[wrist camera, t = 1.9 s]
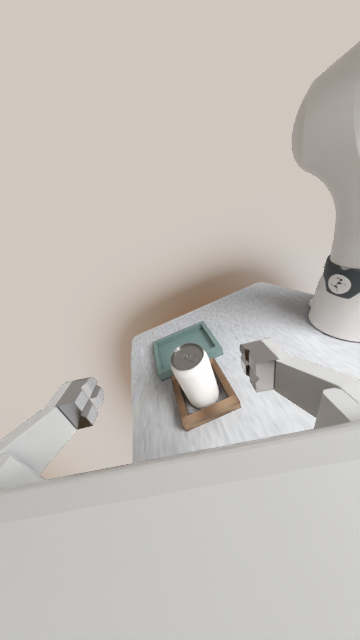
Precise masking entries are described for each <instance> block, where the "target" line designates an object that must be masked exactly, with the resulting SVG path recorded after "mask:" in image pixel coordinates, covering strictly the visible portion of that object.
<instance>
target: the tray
mask: <svg viewBox="0 0 360 640" xmlns="http://www.w3.org/2000/svg"><path fill="white" fill-rule="evenodd" d="M185 343H196V344H198V345H200V346H201V347H202V349H203V350H204V351H205V352H206V353H207V355H208V358H209V359H211V358H216V357H218V356H220V355H223V351H222V347H221V346H220V344H219V343H218V341H217V340H216V339H215V337H214V336H213V334H212V333H211V332H210V330H209V329H208V327H207V326H206V324H205V323H204V322H203V321H201V322H199V323H197V324H194V325H192V326H190V327H187V328H185V329H183V330H180V331H178V332H176V333H173V334H171V335H169V336H166V337H164V338H162V339H159V340H157V341H154V342H153V348H154V354H155V360H156V366H157V372H158V376H159V377H160V379H161V380H162V381H163V380H165V379H167V378H170V377H171V376H172V375H174V373H173V371H172V368H171V361H170V358H171V355H172V353H173V351H174V350H175V349H176V348H177V347H179V346H180V345H182V344H185Z"/></svg>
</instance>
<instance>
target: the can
mask: <svg viewBox="0 0 360 640" xmlns="http://www.w3.org/2000/svg"><path fill="white" fill-rule="evenodd" d="M170 361H171V368H172V371H173V373H174V375H175V377H176V379H177V381H178V382H179V384H180V386H181V388H182V389H183V391H184V393H185V395H186V396H187V398H188V400H189V401H190V403H191V404H192V405H193V406H194V407H196V408H199V409H203V408H206V407H208V406H210V405H212V404H215V403H216V401H217V399H218V396H219V389H218V385H217V382H216V379H215V376H214V373H213V370H212V367H211V364H210V361H209V358H208V355H207V353H206V352H205V351H204V350H203V349H202V347H201V346H200V345H198V344H196V343H185V344H182V345H180V346H179V347H177V348H176V349H175V350H174V351H173V353H172V355H171V358H170Z"/></svg>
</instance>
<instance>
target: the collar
mask: <svg viewBox="0 0 360 640" xmlns="http://www.w3.org/2000/svg"><path fill="white" fill-rule="evenodd" d="M209 361H210V364H211V367H212V370H213V371H214V373H215V375H216V376H217V378H218V380H219V382H220V384H221V386H222V388H223V389H224V391H225V393H226V395H227V397H228V398H226V399H224V400H221V401H219V402H217V403H215V404H212V405H210V406H208V407H206V408H203V409H201V410H199V411H197V412H194V413H192V414H190V415H189V412H188V409H187V405H186V402H185V399H184V395H183V392H182V388H181V386H180V384H179V382H178V381H177V379H176V377H175V375H172V376H171V380H172V384H173V388H174V392H175V396H176V400H177V404H178V408H179V412H180V417H181V421H182V425H183V427H184V428H185V429H186V431H189V430H191V429H194V428H196V427H198V426H200V425H203V424H205V423H207V422H209V421H212V420H214V419H216V418H218V417H220V416H223V415H225V414H227V413H229V412H232V411H234V410H236V409H238V408H241V406H240V401H239V399H238V397H237V396H236V394H235V392H234V391H233V389H232V387H231V386H230V384H229V382H228V381H227V379H226V377H225V375H224V374H223V372H222V370H221V369H220V367H219V365H218V364H217V362H216V360H215V359H214V358H211V359H209Z"/></svg>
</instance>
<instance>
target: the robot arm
mask: <svg viewBox="0 0 360 640" xmlns="http://www.w3.org/2000/svg"><path fill="white" fill-rule="evenodd" d="M292 151H293V155H294V158H295V160H296V162H297V164H298V165H299V166H300V167H301V168H302V169H303V170H304V171H306V172H309V173H311V174H313V175H314V176H316V177H317V178H319V179H320V180H321V181H322V182H323V183H324V184H325V185H326V187H327V188H328V190H329V191H330V193H331V195H332V197H333V200H334V203H335V208H336V224H335V233H334V240H333V246H332V251H331V255H329V256H328V258H327V260H326V263H325V266H324V273H323V276H321V278H320V280H319V282H318V285H317V288H316V292H315V295H314V298H311V299H310V300H309V306H310V311H309V315H308V317H309V320H310V322H311V323H312V325H313V326H315V327H316V328H317V329H319V330H320V331H322V332H324V333H326V334H328V335H331V336H333V337H336V338H340V339H344V340H348V341H355V342H360V42H359V43H357V44H356V45H355V46H354V47H353V48H351V49H350V50H349V51H348V52H347V53H346V54H344V55H343V56H342V57H341V58H339V59H338V60H337V61H336V62H335V63H334V64H333V65H331V66H330V67H329V68H328V69H327V70H326V71H325V72H323V73H322V74H321V75H320V76H319V77H318V78H317V79H316V80H315V81H314V82H313V83H312V85H311V87H310V88H309V90H308V92H307V94H306V95H305V97H304V99H303V101H302V104H301V106H300V108H299V111H298V114H297V116H296V120H295V123H294V127H293V133H292ZM240 351H241V353H242V356H241V364H242V367H243V370H244V372H245V374H246V375H247V376H249V377H250V382H251V384H252V386H253V387H254V389H255V391H256V392H262V391H267V390H273V389H274V390H275V391H276V392H278V393H279V394H281V395H282V396H284V397H285V398H287V399H288V400H290V401H291V402H293V403H294V404H296V405H297V406H299V407H300V408H302V409H304V410H305V411H307V412H308V413H310V414H311V415H313V416H314V417H316V422H315V426H314V429H311V430H305V431H300V432H295V433H290V434H284V435H279V436H274V437H269V438H263V439H258V440H253V441H248V442H242V443H237V444H232V445H227V446H221V447H216V448H211V449H206V450H200V451H195V452H190V453H184V454H179V455H174V456H169V457H163V458H158V459H153V460H148V461H143V462H137V463H132V464H127V465H122V466H116V467H112V468H106V469H101V470H95V471H90V472H85V473H80V474H74V475H69V476H64V477H59V478H53V479H48V480H46V479H45V478H43V477H42V476H40V474H41V472H42V471H43V470H44V469H45V468H46V466H47V465H48V464H49V463H50V462H51V461H52V459H53V458H54V457H55V456H56V455H57V453H58V452H59V451H60V450H61V449H62V448H63V446H64V445H65V444H66V443H67V442H68V441H69V439H70V438H71V437H72V436H73V435H74V433H75V432H76V431H77V429H81V428H85V427H90V426H93V424H94V422H95V420H96V417H97V415H98V411H97V409H98V408H99V407H100V406H101V405H102V403H103V400H104V393H103V390H102V388H101V387H99V386H97V381H96V379H95V378H94V377H89V378H84V379H79V380H75V381H69V382H66V383H64V384H63V385H62V386H61V387H60V389H59V390H58V391H57V392H56V394H55V395H54V396H53V398H52V399H51V400H50V402H49V403H48V404H47V405H46V407H45V408H44V409H43V410H40V411H39V412H38V413H36V414H35V415H34V416H32V417H31V418H30V419H28V420H27V421H26V422H24V423H23V424H22V425H20V426H19V427H18V428H16V429H15V430H14V431H13V432H11V433H10V434H9V435H7V436H6V437H5V438H4V439H2V440H1V441H0V640H360V379H357V378H355V377H352V376H349V375H346V374H343V373H340V372H337V371H335V370H332V369H329V368H326V367H323V366H320V365H317V364H315V363H312V362H309V361H306V360H303V359H300V358H297V357H290V356H289V355H288V354H287V353H286V352H285V351H284V350H283V349H282V348H281V347H280V346H279V345H278V344H276V343H275V342H274V341H273V340H272V339H271V338H266V339H262V340H259V341H254V342H250V343H245V344H241V345H240Z"/></svg>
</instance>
